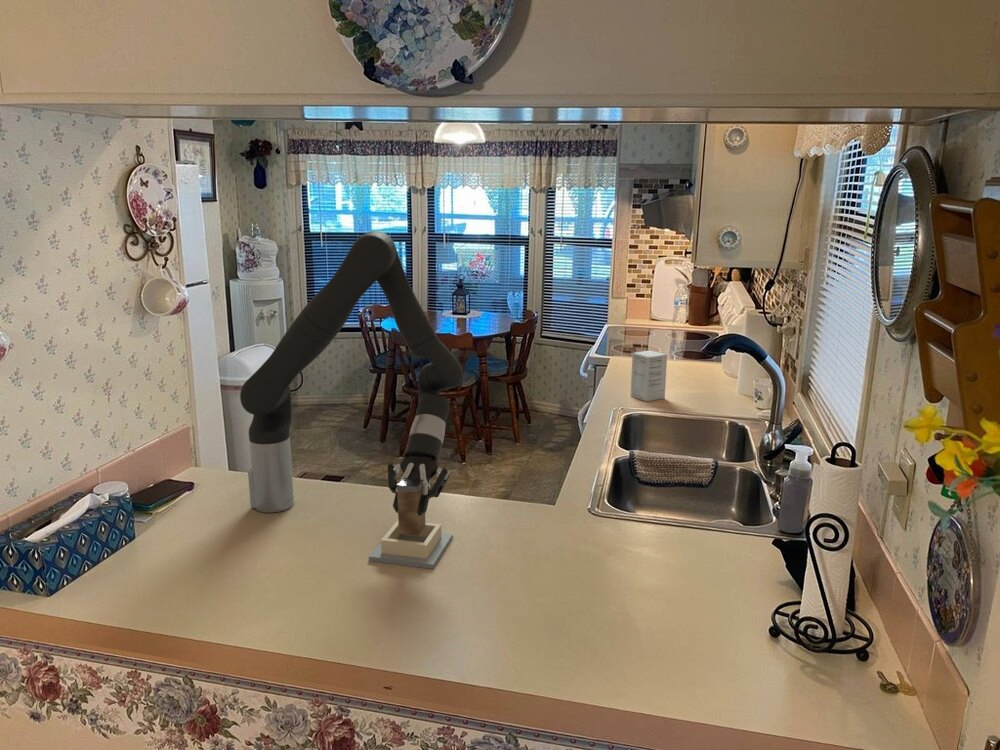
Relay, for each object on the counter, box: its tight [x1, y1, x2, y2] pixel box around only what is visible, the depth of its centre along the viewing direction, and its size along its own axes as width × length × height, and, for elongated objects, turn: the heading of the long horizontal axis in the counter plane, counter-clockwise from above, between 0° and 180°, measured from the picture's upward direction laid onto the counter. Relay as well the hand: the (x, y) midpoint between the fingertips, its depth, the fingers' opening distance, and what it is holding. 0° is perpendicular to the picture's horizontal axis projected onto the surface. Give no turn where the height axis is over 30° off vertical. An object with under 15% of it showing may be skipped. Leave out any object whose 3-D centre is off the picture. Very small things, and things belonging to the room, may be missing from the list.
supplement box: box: [630, 350, 668, 402], centre depth 271 cm, size 10×9×17 cm
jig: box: [368, 519, 454, 570], centre depth 156 cm, size 14×14×4 cm
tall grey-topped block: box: [397, 477, 426, 536], centre depth 154 cm, size 4×4×11 cm
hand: (408, 512), depth 153 cm, fingers closed on tall grey-topped block, 4 cm apart
